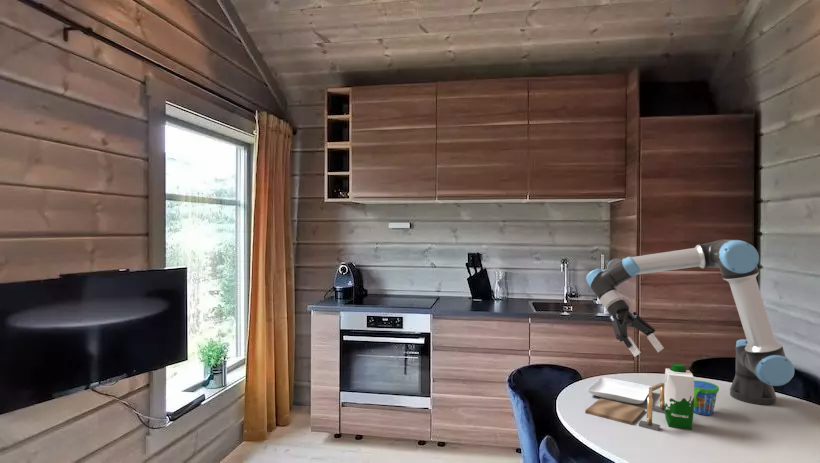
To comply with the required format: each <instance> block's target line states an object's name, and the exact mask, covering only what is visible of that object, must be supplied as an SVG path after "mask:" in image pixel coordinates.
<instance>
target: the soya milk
mask: <svg viewBox="0 0 820 463" xmlns="http://www.w3.org/2000/svg"><path fill="white" fill-rule="evenodd" d="M685 365H686V364H683V363H682V364H681V363H677V362H675V363H671V368H670V367H669V368H664V369H665V370H664V371H665V372H664V383H665V387H664V410H665V413H664V415H665V416H664V417H665V421H666V423H667V424H666V425H667V426H668V427H669V428H677V429H685V430H693V421H694V380H695V377H694V375H693V373H692V372H691V371H690V370H687V369H686V366H685Z"/></svg>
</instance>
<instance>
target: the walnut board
mask: <svg viewBox="0 0 820 463" xmlns="http://www.w3.org/2000/svg"><path fill="white" fill-rule="evenodd" d="M584 411H585V414H588V415H593V416H596V417H599V418H604V419H608V420H611V421H612V420H613V421H616V422H618V423H622V424H623V423H624V424H627V425H631V426H633V424H635V422H637V420H638V419H639V418H640V417H641V416H642V415H643V414H644V413H645V411H646V409H645V407H640V406H636V405H633V404H629V403H624V402H620V401H615V400H610V399H606V398H601V397H599V399H598V400H597V401H595V402H593V404H591V405H590V406H589V407H587V408H586V409H585V410H584Z"/></svg>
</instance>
